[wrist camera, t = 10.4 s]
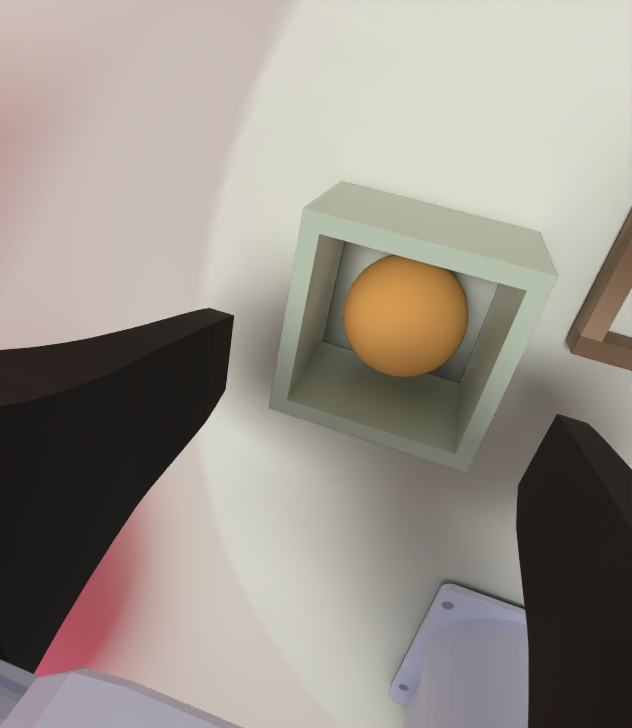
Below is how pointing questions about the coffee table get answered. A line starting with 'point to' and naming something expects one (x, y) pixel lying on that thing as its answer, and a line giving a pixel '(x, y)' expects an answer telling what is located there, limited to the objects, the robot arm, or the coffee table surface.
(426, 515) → the coffee table surface
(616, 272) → the rack
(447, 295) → the orange ball
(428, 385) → the sage open box
